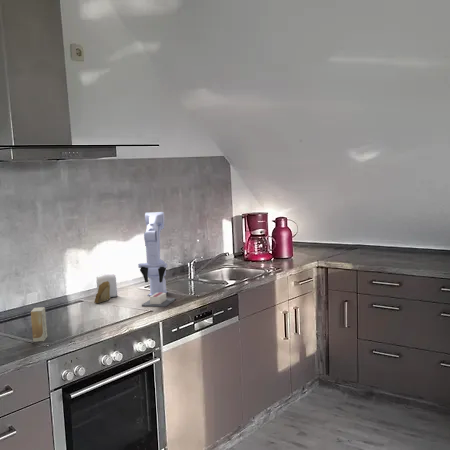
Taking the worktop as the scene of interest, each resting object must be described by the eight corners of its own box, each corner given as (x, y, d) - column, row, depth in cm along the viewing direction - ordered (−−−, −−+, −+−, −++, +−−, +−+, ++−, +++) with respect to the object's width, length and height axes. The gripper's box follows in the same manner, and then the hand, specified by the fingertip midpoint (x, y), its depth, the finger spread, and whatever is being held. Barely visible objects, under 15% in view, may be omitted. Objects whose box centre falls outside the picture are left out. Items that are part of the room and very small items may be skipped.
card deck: (150, 303, 272) (149, 296, 272) (156, 299, 281) (156, 292, 281) (159, 304, 271) (159, 296, 271) (166, 299, 280) (166, 292, 279)
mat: (152, 299, 285) (152, 298, 285) (175, 300, 282) (175, 298, 282) (141, 306, 271) (141, 304, 271) (165, 306, 268) (165, 305, 268)
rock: (97, 300, 278) (115, 294, 284) (90, 285, 281) (108, 279, 287) (92, 310, 286) (110, 303, 292) (85, 295, 289) (103, 289, 295)
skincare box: (36, 337, 226) (34, 307, 225) (47, 336, 226) (45, 306, 225) (32, 342, 220) (30, 311, 219) (44, 341, 220) (41, 310, 219)
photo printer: (99, 299, 291) (97, 275, 290) (96, 298, 294) (95, 274, 294) (118, 296, 295) (116, 273, 295) (116, 295, 299) (114, 272, 298)
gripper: (135, 256, 278) (137, 283, 279) (163, 256, 274) (164, 283, 276) (140, 254, 285) (142, 280, 286) (168, 253, 281) (169, 280, 282)
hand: (153, 282), depth 281 cm, fingers open, 7 cm apart
